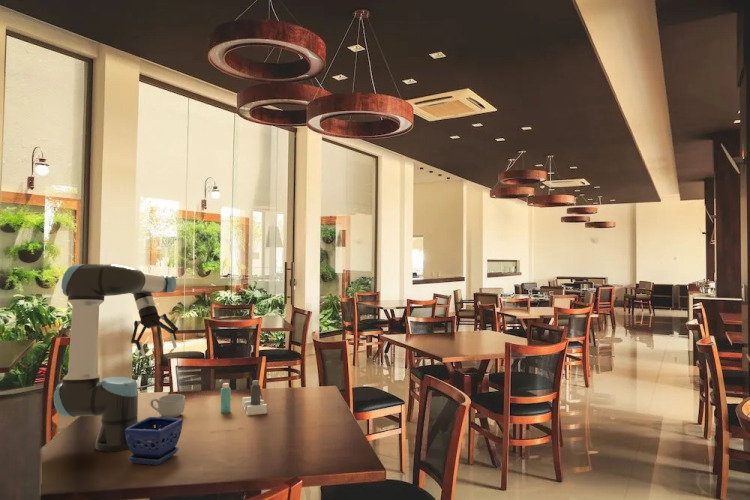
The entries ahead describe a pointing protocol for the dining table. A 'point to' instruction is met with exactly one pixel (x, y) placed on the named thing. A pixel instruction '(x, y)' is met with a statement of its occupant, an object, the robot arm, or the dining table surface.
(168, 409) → the teacup
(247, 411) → the cord comb
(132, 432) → the flower pot
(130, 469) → the dining table surface
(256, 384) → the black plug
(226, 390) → the teal bottle
